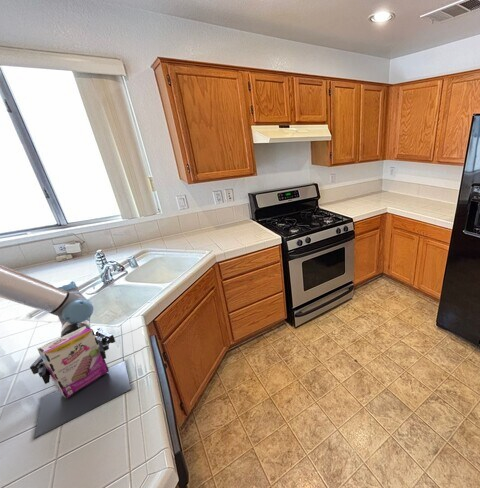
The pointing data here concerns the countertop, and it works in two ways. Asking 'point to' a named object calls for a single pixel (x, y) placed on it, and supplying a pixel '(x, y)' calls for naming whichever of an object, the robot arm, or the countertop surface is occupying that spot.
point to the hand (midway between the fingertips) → (75, 366)
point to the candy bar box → (74, 360)
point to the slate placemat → (82, 399)
